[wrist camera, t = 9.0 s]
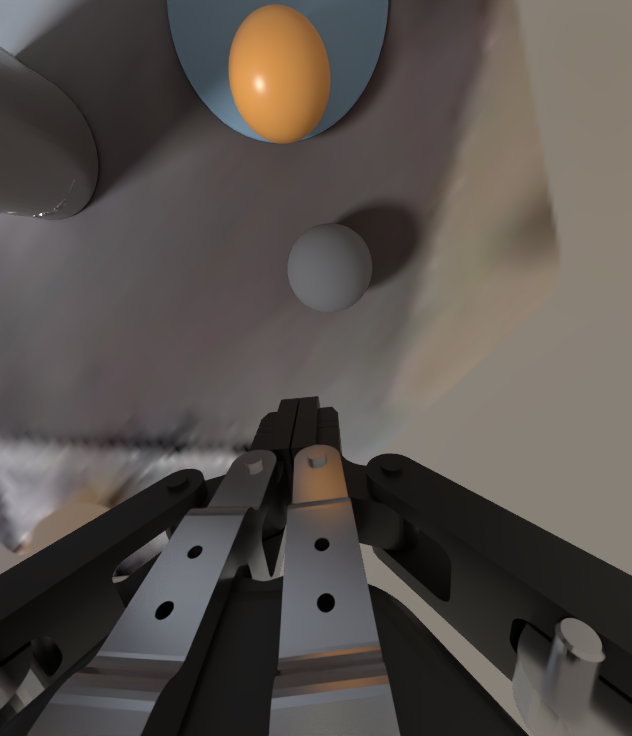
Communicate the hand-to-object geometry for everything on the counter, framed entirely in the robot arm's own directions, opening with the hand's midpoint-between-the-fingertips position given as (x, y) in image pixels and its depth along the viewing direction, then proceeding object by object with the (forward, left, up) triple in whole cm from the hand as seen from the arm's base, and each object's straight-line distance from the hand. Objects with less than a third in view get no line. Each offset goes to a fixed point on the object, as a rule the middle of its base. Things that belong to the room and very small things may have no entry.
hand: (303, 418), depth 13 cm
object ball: (-15, +7, -12) cm, 20 cm away
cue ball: (-4, +4, -12) cm, 13 cm away
